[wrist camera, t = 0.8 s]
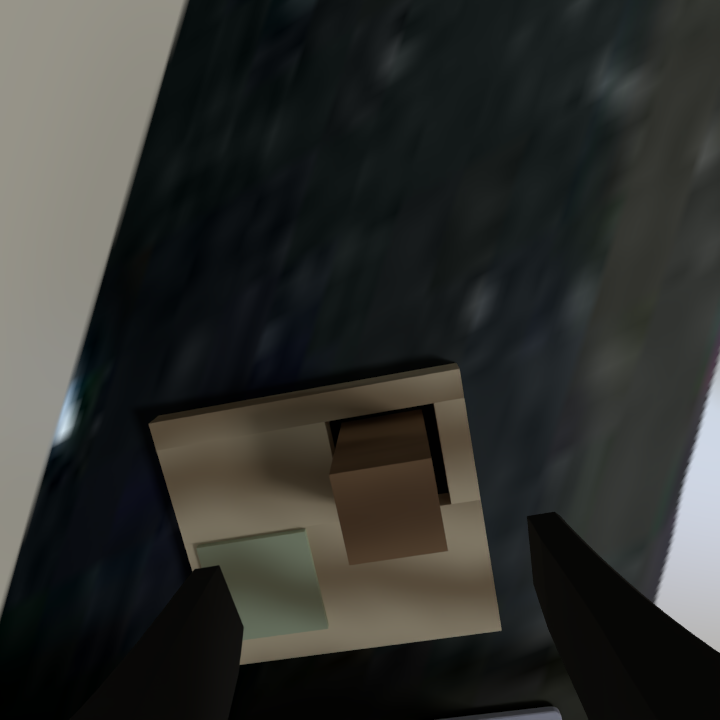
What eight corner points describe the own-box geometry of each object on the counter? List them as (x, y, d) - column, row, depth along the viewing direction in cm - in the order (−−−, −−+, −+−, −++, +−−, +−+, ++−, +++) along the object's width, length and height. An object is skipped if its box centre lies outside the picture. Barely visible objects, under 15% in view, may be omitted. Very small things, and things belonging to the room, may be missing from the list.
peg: (435, 483, 27) (448, 551, 21) (357, 495, 27) (349, 565, 21) (421, 408, 26) (431, 458, 20) (341, 422, 26) (328, 474, 21)
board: (496, 614, 28) (502, 634, 27) (227, 650, 30) (219, 671, 28) (456, 362, 25) (460, 370, 24) (158, 415, 27) (145, 425, 25)
